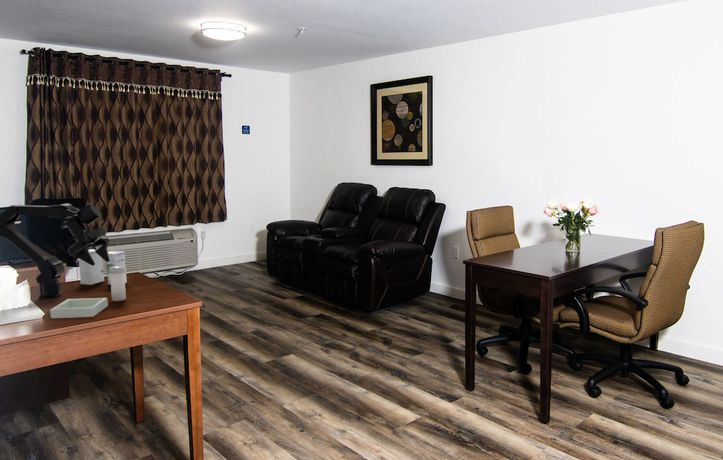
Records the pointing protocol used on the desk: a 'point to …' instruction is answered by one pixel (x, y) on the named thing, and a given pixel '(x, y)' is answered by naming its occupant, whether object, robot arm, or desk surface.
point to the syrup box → (116, 263)
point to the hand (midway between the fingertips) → (101, 263)
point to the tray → (79, 308)
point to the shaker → (117, 283)
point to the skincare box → (91, 270)
